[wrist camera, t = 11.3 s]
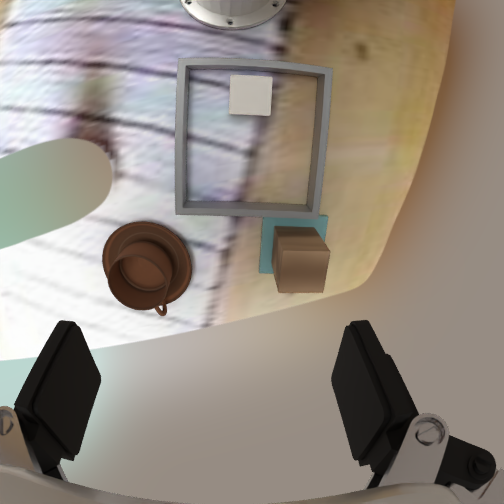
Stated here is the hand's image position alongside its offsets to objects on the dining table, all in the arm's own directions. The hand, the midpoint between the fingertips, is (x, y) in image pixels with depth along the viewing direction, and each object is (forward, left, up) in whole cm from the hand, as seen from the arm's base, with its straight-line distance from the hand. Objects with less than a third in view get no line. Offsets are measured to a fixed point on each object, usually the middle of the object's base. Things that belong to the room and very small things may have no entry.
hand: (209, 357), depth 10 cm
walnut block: (+8, +9, -27) cm, 30 cm away
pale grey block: (-10, +2, -28) cm, 30 cm away
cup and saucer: (+11, -10, -28) cm, 32 cm away
